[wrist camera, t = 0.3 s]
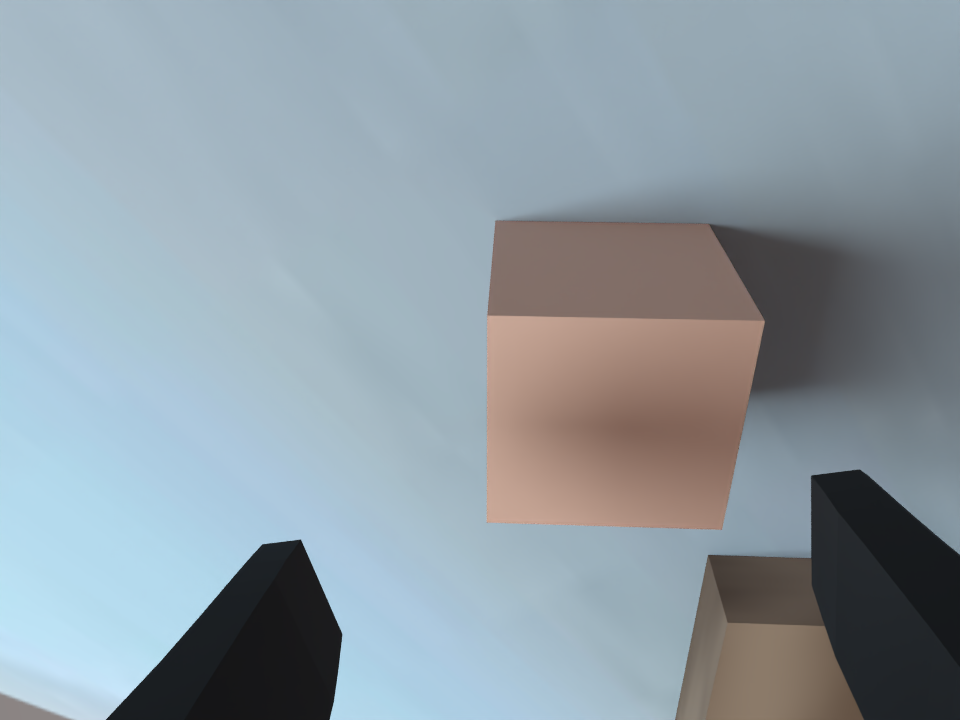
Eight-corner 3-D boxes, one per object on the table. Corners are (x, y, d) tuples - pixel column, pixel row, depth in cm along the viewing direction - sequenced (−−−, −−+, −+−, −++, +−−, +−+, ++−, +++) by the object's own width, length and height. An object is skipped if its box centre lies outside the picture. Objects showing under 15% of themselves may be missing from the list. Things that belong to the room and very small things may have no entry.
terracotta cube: (707, 222, 18) (764, 321, 14) (680, 400, 21) (721, 529, 16) (495, 219, 18) (487, 315, 14) (494, 395, 21) (486, 522, 17)
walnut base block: (1040, 555, 23) (1104, 635, 21) (941, 756, 28) (983, 840, 26) (705, 545, 24) (727, 622, 21) (666, 744, 29) (680, 826, 26)
